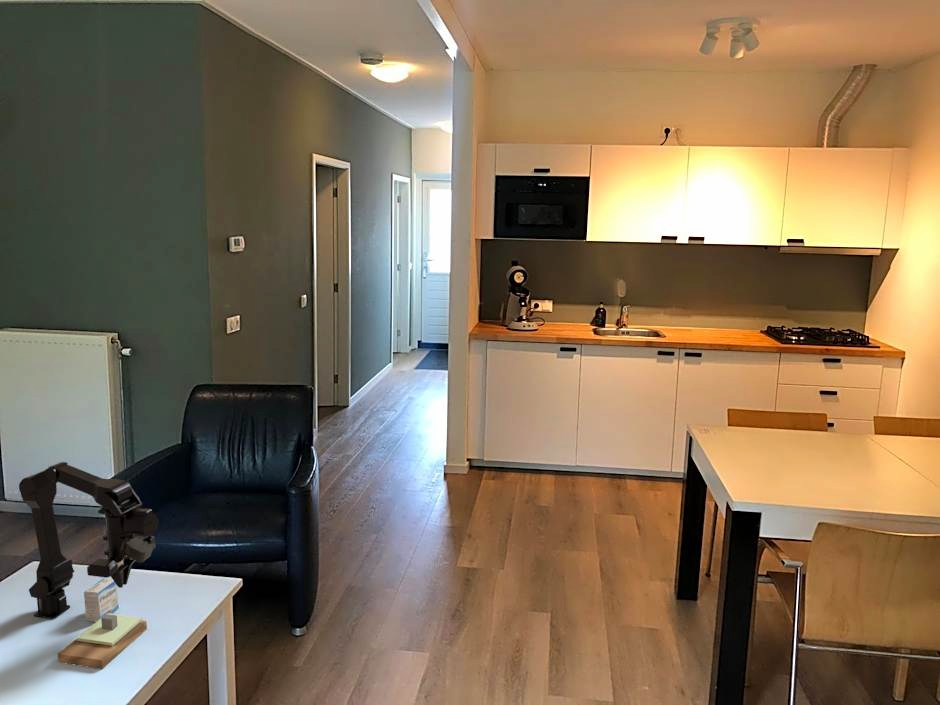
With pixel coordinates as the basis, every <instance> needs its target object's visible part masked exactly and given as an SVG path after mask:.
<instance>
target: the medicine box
mask: <svg viewBox="0 0 940 705" xmlns="http://www.w3.org/2000/svg"><path fill="white" fill-rule="evenodd" d="M118 593H119V592H118V586H117V585H116V583H115V582H114V580H113V579H112V578H102V579H100V580H99V581H98V582H96V583H95V584H93V585H92V586H90V587H88V588H87V589H86V590H85V591H84V592H83V598H84V610H85V620H86V621H88V622H95V623H96V622H97V621H98V620H100V619H101V618H102V617H103V616H105V615H106V614H107V613H110V614H111V613H112V614H114V612H116V610H118V609H119V594H118Z"/></svg>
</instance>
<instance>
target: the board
mask: <svg viewBox="0 0 940 705" xmlns="http://www.w3.org/2000/svg"><path fill="white" fill-rule="evenodd" d="M147 623H148V622H147V620H142V621H141V622H139V623H138V624H137V625H136V626H135V627H134V628H133V629H131V630H130V631H129V632H128V633H127V634H126V635H124V636H123V637H122V638H121V639H120V640H119V641H118V642H116V643H115V644H114V645H113V646H110V645H103V644H96V643H89V642H82V641H77V638H76V639H74V640H73V641H72V642H71V643H69V644H68V645H66V646H65V647H64V648H63V649H62V650H60V651H59V652H58V653H57V661H58V662H60V663H59V664H65V663H67V664H66V665H71V664H75V665H74V666H78V665H81V666H80V667H85V666H88V667H87V668H93V669H99V670H103V669H104V668H106V666H107V665H109V664H111V662H112V661H113V660H115V659H116V657H118V656H119V655H120V654H121V653H122V652H123V651H124V650H125V649H126V648H128V647H129V646H130V645H131V644H132V643H133V642H134V641H136V640H137V639H138V638H139V637H140V636H141V635H142V634H143V633H145V632H146V631H147V630H148V626H147Z"/></svg>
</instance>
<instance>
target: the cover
mask: <svg viewBox="0 0 940 705" xmlns="http://www.w3.org/2000/svg"><path fill="white" fill-rule="evenodd" d="M142 619H143V618H142V617H139V616H131V615H122V614H118V613H117V614H115V613H112V614H110V613H107V614H106V615H105V616H103V617H102V618H101V619H100V620H98V621H97V622H95V623H93V624H92V625H90V627H88V628H87V629H86V630H84V631H83V632H82V633H80V634H79V635H78V636H77V637H76V639H77V641H82V642H89V643H96V644H103V645H110V646H113V645H114V644H115V643H116V642H118V641H119V640H120V639H121V638H122V637H123V636H124V635H126V634H127V633H128V632H129V631H130V630H131V629H133V628H134V627H135V626H136V625H137V624H138V623H139V622H141V621H143V620H142Z"/></svg>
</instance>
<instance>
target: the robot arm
mask: <svg viewBox="0 0 940 705" xmlns="http://www.w3.org/2000/svg"><path fill="white" fill-rule="evenodd" d="M57 483H60V484H62V485H64V486H67V487H70V488H72V489H75V490H76V491H78V492H81V493H85V494H87V495H89V496H91V497H93V499H94V501H95V503H96V504H98V505H99V506H101V508H100V509H99V510H98V511H97V513H98V514H100V515H104V516H105V529H106V534H105V535H103V536H102V538H103V539H102V541H106V543H107V549H106V550H104V551H103V552H104V553H103V554H104V556H108V557H107V558H106V559H105V558H98V559H96V560H94V561H93V562H92V563H90V564H89V565H88V566H87V567H86V572H87V576H88V577H89V576H90V577H99V578H104V579H108V578H110V579H113V580H114V582H115V583H116V585H117V588H120V589H122V588H123V587H124V586H125V585H127V584H128V581H129V578H130V573H131V569H132V568H133V564H134V563H135V562H137V563H141V564H142V563H144V562H145V561H146V560H148V559H149V558H150V557H151V556H152V552H153V550H154V549H156V540H155V535H154V534H155V533H156V532H157V530H158V527H159V524H160V523H159V522H160V521H159V518H158V516H157V515H156V514H155V513H153V509H151V508H142V507H141V506H143V502H142V501H141V500H140V497H139V496H138V495H137V493H136V492H135V491H134V489H133V488H132V485H131V483H129V481H126V480H123V479H119V478H118V479H117V478H102V477H100V476H96V475H94V474H92V473H89V472H87V471H85V470H82V469H79V468H77V467H74V466H72V465H70V464H69V463H68V462H66V461H60V462H58V463H55V464H53V465H50V466H48V468H46V469H45V470H42V471H39V472H37V473H36V472H35V473H34V474H31V475H29V476H27V477H24V478H22V479H21V480H20V482H19V483H18V484H19V485H18V489H19V494H20V496H21V499H22V502H24V504H26V505H27V506H28V507H29V508H30V509H31V515H32V520H33V524H34V530H35V535H36V540H37V545H38V546H37V547H38V551H39V552H38V553H39V556H40V560H39V563H38V566H37V568H36V581H35V582H34V583H33V585H32V586H31V587H30V588H29V589H28V592H29V595H30V597H31V598H35V599H36V603H37V611H35V612H34V613H33V617H38V618H46V619H56V618H57V617H59V616H60V615H62V614H63V613H65V612H66V611H68V610H69V609H70V608H71V605H69V604H68V603H67V595H66V592H65V591H66V590H65V588H66V587H68V586H70V582H71V580H72V579H73V576H74V573H75V570H74V568H73V560H72V559H71V558H66V557H65V556H64V555H63V554H62V550H61V543H60V540H59V533H58V528H57V522H56V517H55V516H56V515H55V511H54V506H53V504H54V500H55V498H56V495H57ZM128 502H129V503H128ZM126 503H127V504H126ZM124 504H125V505H124ZM121 505H123V506H121Z"/></svg>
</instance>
